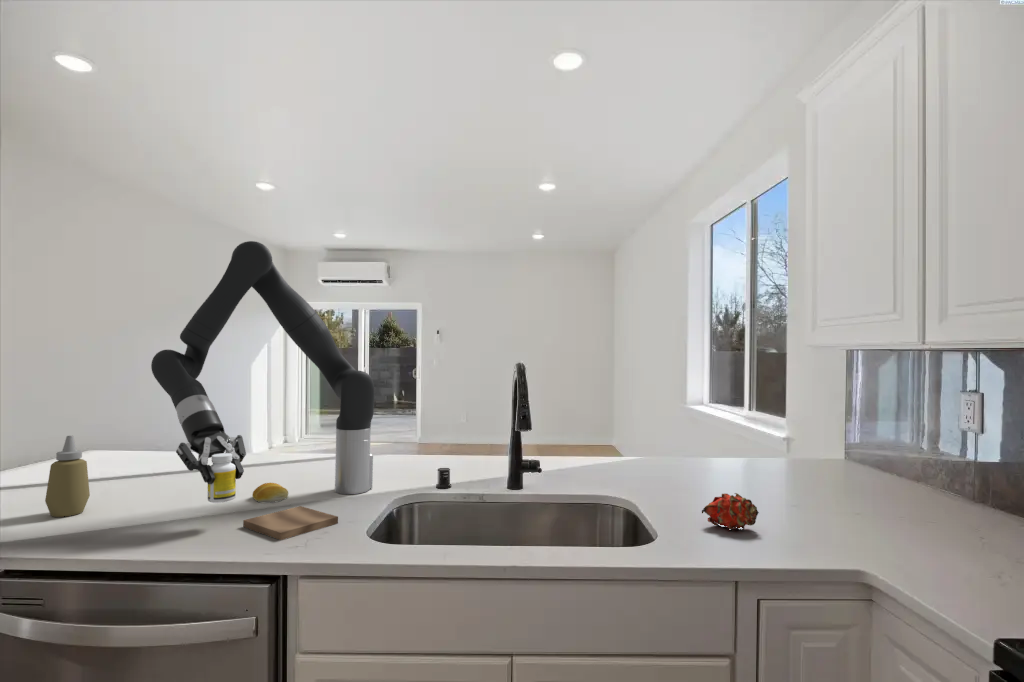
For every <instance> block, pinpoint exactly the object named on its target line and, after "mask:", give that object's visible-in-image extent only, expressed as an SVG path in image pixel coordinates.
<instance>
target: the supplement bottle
mask: <svg viewBox="0 0 1024 682" xmlns="http://www.w3.org/2000/svg"><path fill="white" fill-rule="evenodd" d="M231 461H232V454H231V453H225V452H224V453H221V454H215V455H212V457H211V463H212V464H211V465H210V467H211V469H212V472H213V474H214V476H215V480H214V482H213V484H209V485H208V484H207V501H208V502H209V503H215V504H216V503H217V504H218V503H225V502H230V501H232V500H234V499H236V492H237V491H236V488H237V487H236V485H237V484H236V482H237V481H236V480H237V479H236V467H235V465H234V464H232V463H231Z"/></svg>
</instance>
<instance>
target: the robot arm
mask: <svg viewBox="0 0 1024 682" xmlns="http://www.w3.org/2000/svg"><path fill="white" fill-rule="evenodd" d="M251 288H252V289H253V290H255V291H256V293H257V294H258V295H259V296H260V297H261V298H262V300H263V301H264V302H265V304H266V306H267V307H268V308H269V310H270V312H271V313H272V315H273V316H274V318H275V319H276V320H277V322H278V323H279V325H280V326H281V328H282V329H283V330H284V332H285V333H286V334H287V335H288V336H289V338H290V339H291V340H292V341H293V342H294V344H295V345H296V346H297V347H298V348H299V350H301V351H302V352H303V354H304V355H305V356H307V358H308V359H309V360H310V361H311V362H312V363H313V364H314V365H315V367H316V368H318V370H319V371H320V372H321V374H322V376H323V377H324V378H325V379H326V381H327V383H328V384H329V385H330V386H329V387H331V388H332V390H333V392H334V394H335V395H336V396H337V398H338V399H340V404H339V405H340V408H339V415H338V417H336V421H335V424H336V425H335V428H336V429H335V464H334V465H335V467H334V468H335V469H334V470H335V472H334V479H335V480H334V492H335V493H337V494H341V495H357V494H362V493H366V492H369V491H370V490H371V489H370V488H372V489H373V479H374V478H373V476H374V475H373V474H374V472H373V470H374V464H373V463H374V456H373V454H372V453H371V432H372V431H371V428H372V421H373V417H374V411H375V407H374V406H375V383H374V380H373V377H372V376H371V375H370V374H369V373H367V372H366V371H363V370H357V369H355V367H353V365H351V363H349V361H348V360H347V359H346V358H345V357H344V356H343V355H342V353H341V351H340V350H339V348H338V346H337V345H336V342H335V340H334V338H333V335H332V333H331V332H330V330H329V328H328V326H327V324H326V323H325V322H324V320H323V319H322V318H321V316H320V315H319V314H318V313H317V312H316V310H315V309H314V308H313V307H312V306H311V305H310V304H309V303H308V302H307V300H306V299H304V297H302V295H300V294H299V293H298V292H297V291H296V290H295V289H293V287H292V286H290V284H288V282H287V281H286V280H285V278H284V277H283V276H282V275H281V273H280V271H279V270H278V269H277V267H276V266H275V264H274V262H273V257H272V254H271V251H270V250H269V247H267V246H266V245H264V244H263V243H261V242H259V241H255V240H254V241H253V240H248V241H244V242H241V243H239V244H238V245H237V246H236V247H235V248H234V250H233V252H232V254H231V257H230V261H229V263H228V265H227V267H226V270H225V272H224V273H223V275H222V277H221V279H220V281H219V282H218V283H217V285H216V286H215V288H214V289H213V290H212V291H211V293H210V294H209V295H208V296H207V297H206V299H205V300H204V302H203V303H202V304H201V305H200V306H199V307H198V309H197V310H196V311H195V313H194V314H193V316H191V318H190V319H189V321H188V322H187V323H186V324H185V327H183V329H182V331H181V332H180V335H179V339H180V340H181V342H183V343H184V344H185V345H186V349H185V351H184V354H183V353H182V352H179V351H176V350H173V349H163V350H162V349H161V350H160V351H158V352H156V353H155V354H154V356H153V357H152V360H151V364H150V365H151V366H150V369H151V372H152V375H153V377H154V379H155V380H156V381H157V383H158V384H159V385H160V386H161V388H162V389H163V390H164V391H165V393H167V395H168V396H169V398H170V399H171V402H172V404H173V407H174V408H175V411H176V416H177V418H178V419H177V420H178V423H179V425H180V426H181V428H182V431H183V434H184V436H185V438H186V440H187V442H188V443H186V442H180V443H179V444H178V447H177V448H176V451H175V453H176V454H177V456H178V457H179V458H180V460H181V461H182V462H183V464H184V465H185V467H186V468H187V470H188V471H190V472H191V471H194V470H195V471H199V472H200V475H201V477H202V479H203V482H204V483H207V486H208V485H209V484H213V482H214V480H215V476H214V474H213V472H212V469H211V467H210V466H211V465H210V464H208V463H209V459H210V458H211V459H212V455H215V454H221V453H231V454H232V461H231V463H232V464H234V465H235V467H236V480H239V479H241V478H242V476H243V475H244V473H245V469H244V468H243V466H242V465H243V464H242V462H243V460H244V459H245V457H246V456H247V451H246V447H245V443H244V439H243V436H242V435H241V434H238V435H237V436H236V437H232V436H229V435H228V434H227V433H226V432H225V429H224V428H225V427H224V425H223V423H222V420H221V418H220V416H219V415H218V412H217V409H216V407H215V406H214V404H213V402H212V401H211V400H210V398H209V396H208V394H207V391H206V390H205V388H204V385H203V383H201V382H200V381H199V380H197V379H198V377H199V376H200V375H201V373H202V372H203V371H202V370H203V367H204V365H205V363H206V359H207V356H208V354H209V350H210V348H211V346H212V345H213V343H214V342H215V340H216V339H217V338H218V336H219V334H220V333H221V332H222V330H223V329H224V327H225V325H226V324H227V323H228V321H229V319H230V318H231V316H232V314H233V313H234V311H235V310H236V308H237V306H238V304H239V303H240V302H241V301H242V299H243V298H244V297H245V295H246V294H247V293H248V292H249V290H250V289H251ZM192 451H193V452H195V453H196V454H198V456H197V458H196V456H195V455H194V453H193V452H192Z"/></svg>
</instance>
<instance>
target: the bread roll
mask: <svg viewBox="0 0 1024 682" xmlns="http://www.w3.org/2000/svg"><path fill="white" fill-rule="evenodd" d="M251 495H252V498H253V499H254V500H255V501H256V502H257V501H258V502H257V503H259V502H270V503H276V502H275V501H278V502H281V501H280V500H282V501H284V500H286V499H287V498H288V497H289V490H288V489H287V488H286V487H284V486H282V485H280V484H279V483H275V482H265V483H262V484H260V485H258V486H257V487H256V488H255V489H254V490H253V492H252V494H251ZM285 498H286V499H285ZM283 499H284V500H283Z"/></svg>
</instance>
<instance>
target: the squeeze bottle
mask: <svg viewBox="0 0 1024 682" xmlns="http://www.w3.org/2000/svg"><path fill="white" fill-rule="evenodd" d="M55 456H56V460H57V461H54V462H53V463H51V464H50V468H49V475H48V479H47V480H48V481H47V488H46V494H45V500H44V502H45V505H46V507H47V510H48V512H49V514H50V516H51V517H56V518H62V517H64V516H65V517H71V515H72V516H76V515H79V514H82V513H83V512H84V510H85V508H86V507H87V503H88V500H89V498H90V495H91V494H90V492H91V491H90V481H89V471H88V463H87V460H85V459H84V458H82V457H83V450H81V449H80V450H79V449H77V445H76V441H75V438H74V435H67V436H66V437H65V440H64V444H63V447H62V450H61V451H57V452H56V455H55Z"/></svg>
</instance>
